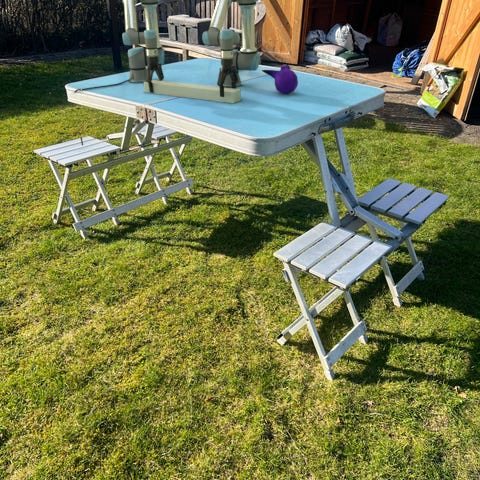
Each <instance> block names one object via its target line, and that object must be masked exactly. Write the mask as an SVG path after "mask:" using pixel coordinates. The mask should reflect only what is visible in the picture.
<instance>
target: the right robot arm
mask: <svg viewBox="0 0 480 480" xmlns="http://www.w3.org/2000/svg"><path fill="white" fill-rule="evenodd" d="M216 1H217V3H216V6H215V9H214V12H213V15H212V18H211V21H210V25H209V27H208V30H205V31H204V32H203V33H202V37H201V38H202V43H203V44H204V45H206V46H220V58H221V59H220V66H221V67H220V68H219V74H218V77H217V82H216V85H217V87H220V97H224V88H232V89H237V88H238V87H241V86H242V79H241V77H240V73H239V71H249V72H254V71H257V70H258V68H259V66H260V61H261V54H260V52H258V48H257V47H256V40H255V39H256V38H255V37H256V35H255V33H256V32H255V7H256V6H257V3H258V2H259V0H216ZM233 3H237V5H238V8H240V22H241V23H240V26H241V35H240V34H239V33H238V32H237V31H235V30H234V31H233V30H232V29H226V28H225V29H223V26H224V23H225V20H226V18H227V13H228V11H229V8H230V7H231V5H232V4H233ZM240 36H241V37H240ZM240 40H241V48H240V49H234V46H236V45H237V44H239V42H240Z"/></svg>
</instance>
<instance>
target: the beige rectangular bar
mask: <svg viewBox="0 0 480 480" xmlns="http://www.w3.org/2000/svg"><path fill="white" fill-rule="evenodd" d="M152 83H153V92H154V93H153V94H154V95H155V94H156V95H157V94H158V95H164V96H173V97H180V98H188V99H195V100H204V101H211V102H218V103H226V104H236V103H238V102H241V100H242V89H239V88H236V89H232V87H224V97H220V87H219V86H212V85H203V84H194V83H186V82H176V81H167V80H162V81H159V79H152ZM143 89H144V93H148V94H151V93H150V90H149V85H148V82H143Z"/></svg>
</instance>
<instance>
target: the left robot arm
mask: <svg viewBox="0 0 480 480" xmlns="http://www.w3.org/2000/svg"><path fill="white" fill-rule="evenodd" d="M121 2H122V4H123V10H124V28H125V32H122V42H123V45H125V46H138V45H139V46H138V47H132V48H130V49H128V50H127V56H128V64H129V65H128V66H129V76H128V79H127V80H123V81H121V82H118V83H112V84H106V85H100V86H92V87H84V88H76V89H75V90H74V94H76V93H77V92H80V91H81V92H82V91H88V90H93V89H101V88H108V87H114V86H120V85H123V84H125V83H127V82H129V83H133V84H141V83H143V84H144V82H148V85H149V90H150V93H149V94H155V93H154V92H153V83H152V80H153V76H154V72H155V74H156V76H157V78H158V79H157V80H159V81H164V79H165V75H164V71H163V67H162V66H163V65H165V48H164V47H163V45H162V44H161V41H160V33H159V23H158V21H159V20H158V13H157V12H158V11H157V7H158V6H159V2H160V0H121ZM138 3H140V4H141V6H142V7H143V13H144V22H145V30H144V31H139V32H138V24H137V7H136V5H137V4H138ZM141 45H144V46H145V48H144V47H143V46H141ZM81 89H82V90H81ZM80 142H81V143H80V144H81V146H84V142H83V137H82V136H80Z"/></svg>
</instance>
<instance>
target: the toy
mask: <svg viewBox="0 0 480 480" xmlns="http://www.w3.org/2000/svg"><path fill="white" fill-rule="evenodd" d="M261 72H263V74H266V75H267V76H270V77H271V78H273V79H274V86H275V87H274V88H275V89H276V91H277V92H279V94H284V95H291V94H292V93H294V92H295V91H296V89H297V88H298V85H299V79H298V75H297V74H296V73H295V71H294V70H292V69H291V67H290V65H288V64H285V65H283V66H281V67H280V70H276V69H275V70H274V69H261Z"/></svg>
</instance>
